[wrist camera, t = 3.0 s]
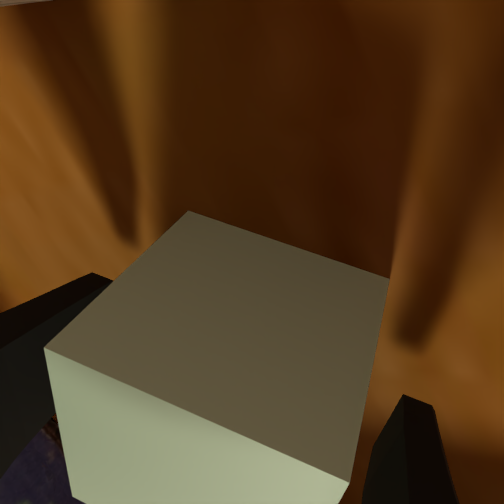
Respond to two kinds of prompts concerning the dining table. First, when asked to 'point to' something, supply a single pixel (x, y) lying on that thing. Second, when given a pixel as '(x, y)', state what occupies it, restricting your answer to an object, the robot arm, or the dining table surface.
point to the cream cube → (18, 2)
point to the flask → (39, 472)
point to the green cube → (217, 373)
